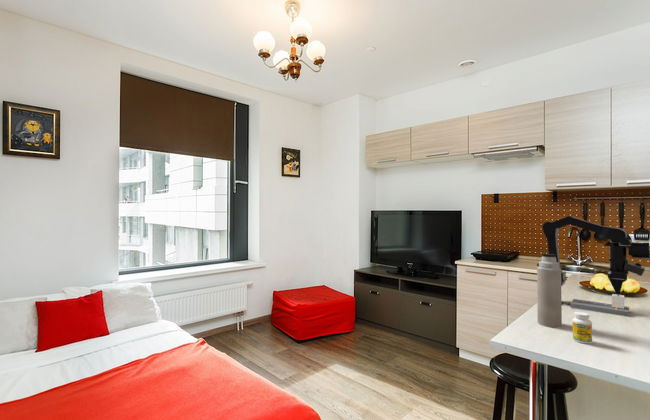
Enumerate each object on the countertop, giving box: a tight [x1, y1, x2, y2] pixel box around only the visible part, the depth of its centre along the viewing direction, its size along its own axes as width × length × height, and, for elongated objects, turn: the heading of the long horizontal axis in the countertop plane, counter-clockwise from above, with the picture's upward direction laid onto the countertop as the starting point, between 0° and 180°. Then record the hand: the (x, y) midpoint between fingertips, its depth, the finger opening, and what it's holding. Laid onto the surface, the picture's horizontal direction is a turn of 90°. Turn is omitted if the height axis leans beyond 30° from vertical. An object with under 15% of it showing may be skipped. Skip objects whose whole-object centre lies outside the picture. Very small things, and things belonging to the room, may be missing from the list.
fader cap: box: [611, 293, 625, 309], centre depth 148 cm, size 4×4×5 cm
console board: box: [569, 298, 630, 317], centre depth 152 cm, size 20×10×2 cm, turn 46°
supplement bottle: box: [572, 311, 593, 345], centre depth 116 cm, size 5×5×10 cm
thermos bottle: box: [536, 253, 563, 329], centre depth 133 cm, size 8×8×28 cm
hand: (618, 292), depth 147 cm, fingers open, 9 cm apart
